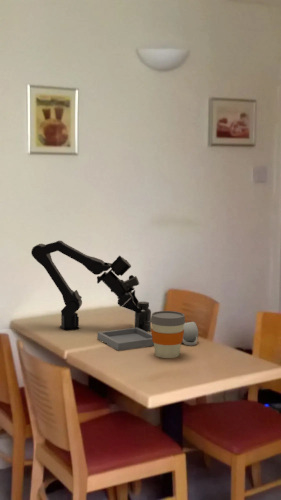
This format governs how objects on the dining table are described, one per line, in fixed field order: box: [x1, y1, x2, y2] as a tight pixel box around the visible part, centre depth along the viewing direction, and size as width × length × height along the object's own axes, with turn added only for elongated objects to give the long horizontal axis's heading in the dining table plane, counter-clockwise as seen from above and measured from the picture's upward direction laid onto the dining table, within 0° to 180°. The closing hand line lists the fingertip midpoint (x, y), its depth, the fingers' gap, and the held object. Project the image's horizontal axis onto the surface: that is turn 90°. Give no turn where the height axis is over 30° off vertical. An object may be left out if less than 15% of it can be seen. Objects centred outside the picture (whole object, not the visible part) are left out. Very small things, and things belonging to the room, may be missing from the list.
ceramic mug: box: [182, 321, 199, 347], centre depth 251 cm, size 11×8×8 cm
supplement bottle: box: [134, 301, 152, 333], centre depth 268 cm, size 7×7×12 cm
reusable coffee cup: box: [150, 310, 186, 359], centre depth 234 cm, size 13×13×15 cm
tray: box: [96, 327, 154, 352], centre depth 251 cm, size 18×18×3 cm
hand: (140, 309), depth 268 cm, fingers open, 9 cm apart
